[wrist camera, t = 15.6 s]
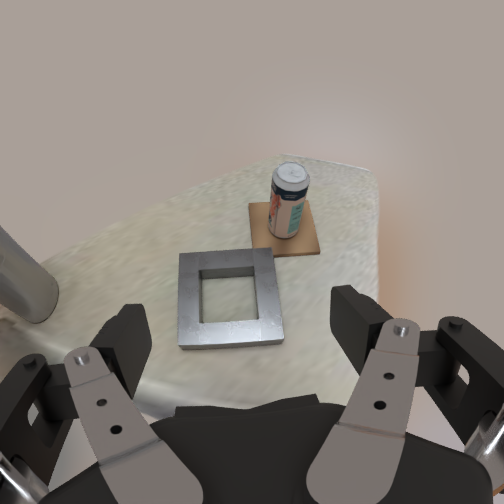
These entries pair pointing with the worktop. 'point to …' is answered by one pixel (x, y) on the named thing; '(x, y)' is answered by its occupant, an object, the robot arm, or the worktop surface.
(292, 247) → the walnut coaster
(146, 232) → the worktop surface
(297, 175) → the beer can
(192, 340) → the metal collar
